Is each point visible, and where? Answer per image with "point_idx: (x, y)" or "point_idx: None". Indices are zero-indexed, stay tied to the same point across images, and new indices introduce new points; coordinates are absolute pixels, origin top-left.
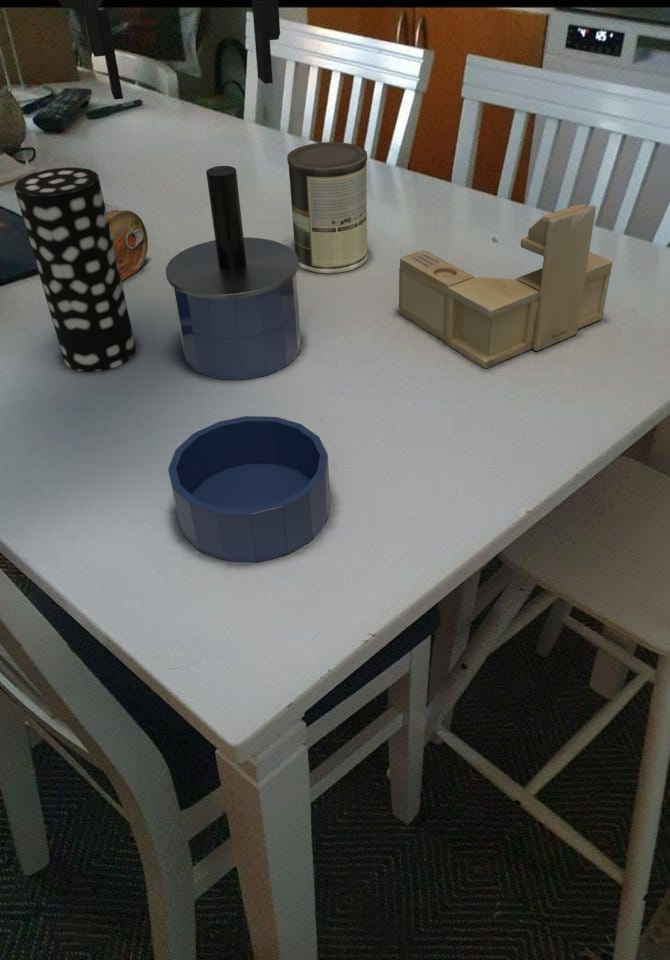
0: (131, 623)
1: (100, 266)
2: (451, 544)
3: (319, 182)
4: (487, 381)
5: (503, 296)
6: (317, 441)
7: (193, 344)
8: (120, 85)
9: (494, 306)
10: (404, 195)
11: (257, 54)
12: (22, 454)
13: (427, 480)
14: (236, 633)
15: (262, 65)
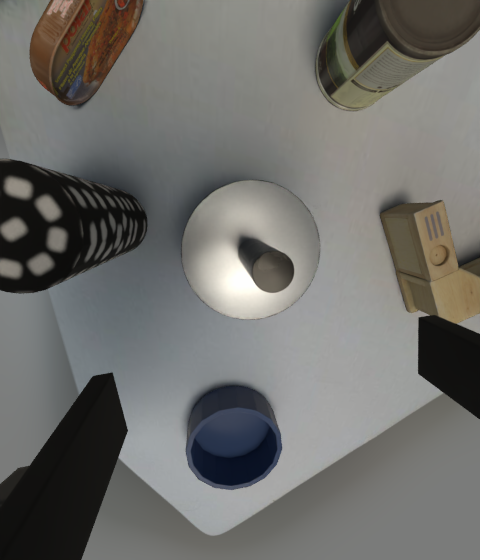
0: (166, 488)
1: (108, 258)
2: (324, 457)
3: (397, 57)
4: (401, 325)
5: (462, 309)
6: (278, 437)
7: None
8: (119, 450)
9: None
10: None
11: (458, 351)
12: (77, 354)
13: (329, 413)
14: (215, 496)
15: (444, 383)
